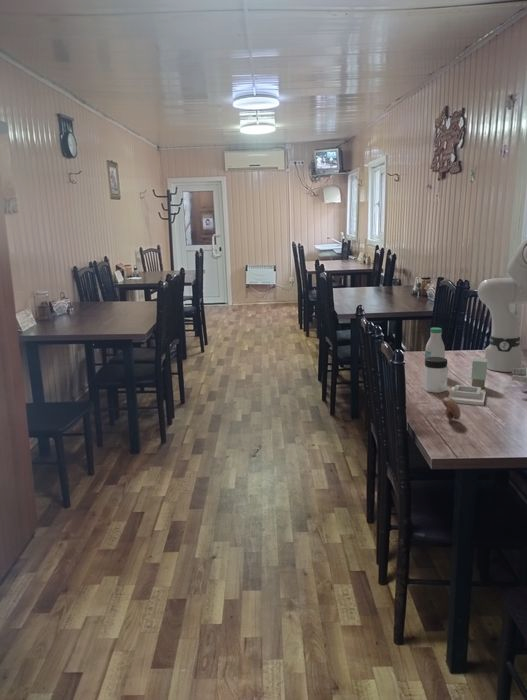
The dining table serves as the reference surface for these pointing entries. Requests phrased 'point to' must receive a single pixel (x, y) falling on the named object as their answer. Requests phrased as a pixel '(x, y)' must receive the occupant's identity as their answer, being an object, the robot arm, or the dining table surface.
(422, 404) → the dining table surface
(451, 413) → the mushroom
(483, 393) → the socket
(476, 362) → the plug
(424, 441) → the dining table surface
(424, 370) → the jar
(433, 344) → the milk bottle
